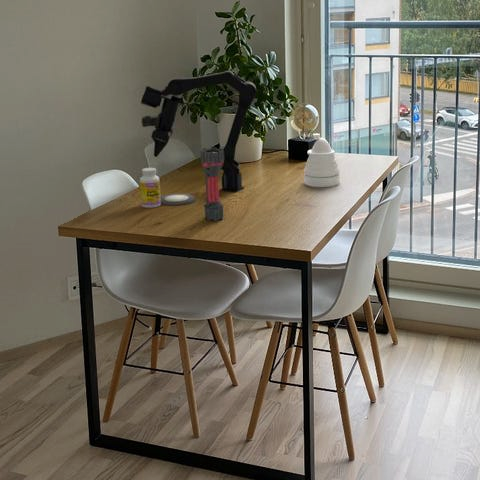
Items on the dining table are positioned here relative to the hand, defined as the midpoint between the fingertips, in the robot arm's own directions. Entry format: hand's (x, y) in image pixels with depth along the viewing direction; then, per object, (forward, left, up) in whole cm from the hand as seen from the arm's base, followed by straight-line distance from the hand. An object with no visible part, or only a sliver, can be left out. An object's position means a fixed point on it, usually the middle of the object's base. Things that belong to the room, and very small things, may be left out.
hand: (156, 153), depth 318 cm
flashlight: (-38, +23, -14) cm, 47 cm away
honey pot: (-50, -34, -14) cm, 62 cm away
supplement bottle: (-9, +17, -14) cm, 24 cm away
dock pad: (-13, +8, -14) cm, 21 cm away
